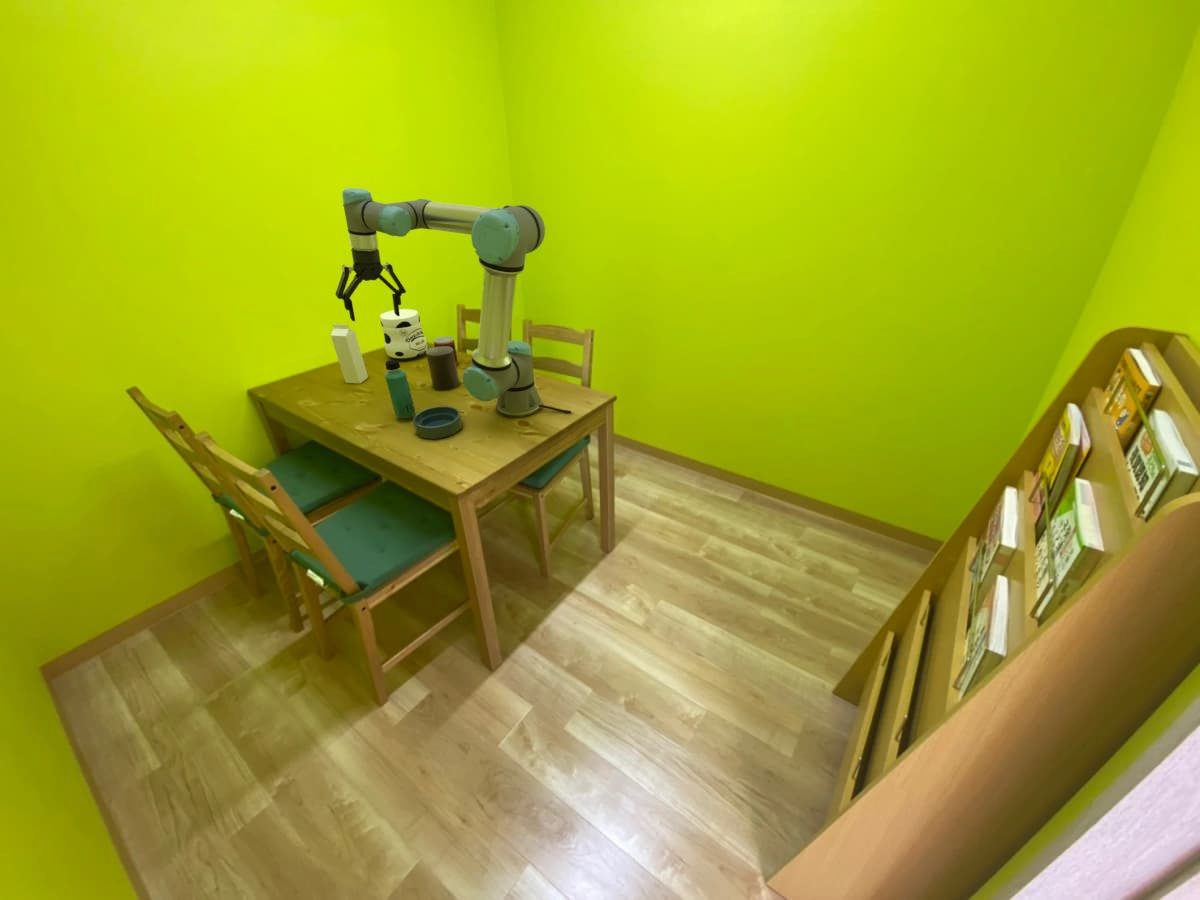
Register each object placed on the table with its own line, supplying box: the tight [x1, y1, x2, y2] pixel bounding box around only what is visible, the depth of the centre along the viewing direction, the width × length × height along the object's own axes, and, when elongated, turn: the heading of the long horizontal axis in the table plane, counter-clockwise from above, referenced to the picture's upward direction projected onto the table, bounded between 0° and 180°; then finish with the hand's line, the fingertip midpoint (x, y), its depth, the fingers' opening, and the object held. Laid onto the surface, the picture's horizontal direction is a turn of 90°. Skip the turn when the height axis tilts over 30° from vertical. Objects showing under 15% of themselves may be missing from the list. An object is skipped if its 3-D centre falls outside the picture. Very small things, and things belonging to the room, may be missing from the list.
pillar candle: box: [425, 346, 460, 391], centre depth 177 cm, size 10×10×15 cm
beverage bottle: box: [384, 359, 416, 419], centre depth 154 cm, size 6×7×20 cm
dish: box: [412, 405, 463, 440], centre depth 152 cm, size 14×14×4 cm
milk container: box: [379, 308, 429, 360], centre depth 203 cm, size 17×17×18 cm
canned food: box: [433, 335, 459, 366], centre depth 195 cm, size 8×8×11 cm
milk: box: [330, 323, 369, 385], centre depth 180 cm, size 6×6×22 cm
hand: (375, 317), depth 154 cm, fingers open, 13 cm apart
